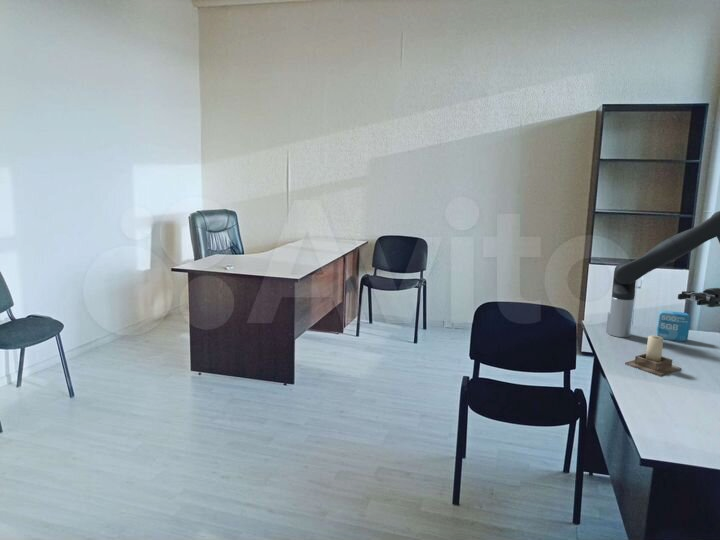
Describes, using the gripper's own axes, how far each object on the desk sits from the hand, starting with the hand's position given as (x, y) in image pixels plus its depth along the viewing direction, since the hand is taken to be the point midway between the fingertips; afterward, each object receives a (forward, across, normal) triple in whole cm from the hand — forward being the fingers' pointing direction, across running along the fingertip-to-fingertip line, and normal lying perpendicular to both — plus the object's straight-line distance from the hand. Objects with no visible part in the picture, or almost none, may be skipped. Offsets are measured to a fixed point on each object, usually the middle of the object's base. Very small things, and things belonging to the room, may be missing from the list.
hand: (688, 299), depth 218 cm
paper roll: (+16, +2, +24) cm, 30 cm away
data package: (-21, -21, +25) cm, 39 cm away
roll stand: (+16, +3, +25) cm, 30 cm away
